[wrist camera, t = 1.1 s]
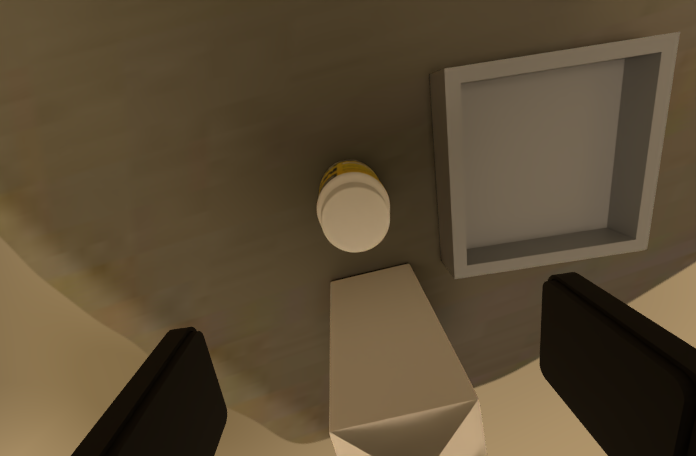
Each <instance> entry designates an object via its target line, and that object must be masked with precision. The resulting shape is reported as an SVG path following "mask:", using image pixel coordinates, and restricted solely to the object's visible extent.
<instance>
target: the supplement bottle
mask: <svg viewBox="0 0 696 456" xmlns="http://www.w3.org/2000/svg"><path fill="white" fill-rule="evenodd" d="M317 216H318V220H319V222H320V225H321V227H322V229H323V232H324V234H325V236H326V238H327V239H328V240H329V241H330V243H331V244H333V245H334V246H335V247H337V248H339V249H341V250H343V251H347V252H363V251H367V250H369V249H371V248H373V247H375V246H376V245H378V244H379V243H380V242H381V241H382V239H383V238H384V237H385V235H386V233H387V231H388V228H389V225H390V200H389V196H388V194H387V192H386V190H385V188H384V186H383V185H382V183H381V182H380V180H379V179H378V177H377V176H376V174H375V173H374V171H373V170H372V169H371V168H370V167H369V166H367V165H366V164H364V163H362V162H360V161H357V160H343V161H340V162H337V163H335V164H334V165H332V166H331V167H330V168H329V169H328V170H327V171H326V172H325V173H324V175H323V177H322V180H321V183H320V189H319V194H318V200H317Z"/></svg>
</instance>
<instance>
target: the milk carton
mask: <svg viewBox="0 0 696 456" xmlns="http://www.w3.org/2000/svg"><path fill="white" fill-rule="evenodd" d="M329 434H330V437H331V440H332V443H333V446H334V449H335V452H336V455H337V456H487V449H486V443H485V435H484V428H483V421H482V415H481V409H480V404H479V399H478V397H477V394H476V392H475V390H474V388H473V386H472V384H471V382H470V380H469V378H468V376H467V375H466V373H465V371H464V369H463V367H462V365H461V363H460V361H459V359H458V357H457V355H456V353H455V351H454V349H453V347H452V345H451V343H450V342H449V340H448V338H447V336H446V334H445V332H444V330H443V328H442V326H441V324H440V322H439V320H438V318H437V316H436V314H435V312H434V310H433V309H432V307H431V305H430V303H429V301H428V299H427V297H426V295H425V293H424V291H423V289H422V287H421V285H420V283H419V281H418V279H417V278H416V276H415V274H414V272H413V270H412V268H411V266H410V264H404V265H400V266H395V267H391V268H387V269H383V270H379V271H374V272H370V273H366V274H362V275H357V276H353V277H349V278H345V279H341V280H336V281H332V282H331V283H330V414H329Z"/></svg>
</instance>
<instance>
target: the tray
mask: <svg viewBox="0 0 696 456" xmlns="http://www.w3.org/2000/svg"><path fill="white" fill-rule="evenodd" d="M679 35H680V32H675V33H669V34H663V35H656V36H650V37H643V38H637V39H631V40H624V41H618V42H611V43H605V44H599V45H592V46H586V47H579V48H573V49H567V50H560V51H554V52H547V53H541V54H534V55H528V56H522V57H515V58H509V59H502V60H496V61H490V62H483V63H477V64H470V65H464V66H458V67H451V68H445V69H442V70H439V71H437V72H434V73H432V74H429V79H430V95H431V110H432V126H433V142H434V158H435V174H436V189H437V205H438V221H439V237H440V253H441V261H442V263H443V264H444V265H445V267H446V268H447V269H448V271H449V272H450V273H451V275H452V276H453V277H454V279H459V278H466V277H472V276H479V275H485V274H492V273H498V272H505V271H511V270H518V269H524V268H531V267H537V266H544V265H550V264H557V263H563V262H570V261H576V260H583V259H589V258H596V257H602V256H609V255H615V254H622V253H628V252H635V251H641V250H647V246H648V240H649V233H650V227H651V220H652V213H653V207H654V200H655V194H656V187H657V180H658V174H659V167H660V161H661V154H662V147H663V141H664V134H665V128H666V121H667V115H668V108H669V101H670V95H671V88H672V82H673V75H674V68H675V62H676V55H677V49H678V42H679Z"/></svg>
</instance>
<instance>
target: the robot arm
mask: <svg viewBox="0 0 696 456" xmlns="http://www.w3.org/2000/svg"><path fill="white" fill-rule="evenodd" d="M540 368H541V371H542V373H543V376H544V377H545V379H546V380H547V381H548V382H549V384H550V385H551V386H552V387H553V388H554V390H555V391H556V392H557V393H558V395H559V396H560V397H561V398H562V399H563V401H564V402H565V403H566V404H567V406H568V407H569V408H570V409H571V411H572V412H573V413H574V414H575V416H576V417H577V418H578V419H579V420H580V422H581V423H582V424H583V425H584V427H585V428H586V429H587V430H588V432H589V433H590V434H591V435H592V436H593V438H594V439H595V440H596V441H597V443H598V444H599V445H600V446H601V448H602V449H603V450H604V451H605V453H606V454H607V455H608V456H696V348H694V347H692V346H691V345H689V344H688V343H686V342H685V341H683V340H681V339H680V338H678V337H677V336H675V335H674V334H672V333H670V332H669V331H667V330H666V329H664V328H663V327H661V326H659V325H658V324H656V323H655V322H653V321H652V320H650V319H648V318H646V317H645V316H644V315H642V314H641V313H639V312H637V311H636V310H634V309H633V308H631V307H629V306H628V305H626V304H625V303H623V302H622V301H620V300H619V299H617V298H615V297H614V296H612V295H611V294H609V293H608V292H606V291H604V290H603V289H601V288H600V287H598V286H596V285H595V284H593V283H592V282H590V281H589V280H587V279H585V278H584V277H582V276H581V275H579V274H577V273H575V272H571V273H564V274H557V275H551V276H550V277H549V279H548V281H546V282H544V284H543V292H542V316H541V341H540ZM226 419H227V408H226V405H225V402H224V398H223V395H222V392H221V389H220V386H219V383H218V379H217V376H216V373H215V370H214V367H213V364H212V361H211V357H210V354H209V351H208V348H207V345H206V342H205V339H204V336H203V333H202V332H200V331H196V329H195V328H193V327H187V328H180V329H173V330H170V331H169V332H167V334H166V335H165V336H164V338H163V339H162V340H161V341H160V343H159V344H158V345H157V346H156V348H155V349H154V350H153V352H152V353H151V354H150V355H149V357H148V358H147V359H146V361H145V362H144V363H143V364H142V366H141V367H140V368H139V370H138V371H137V372H136V373H135V375H134V376H133V377H132V379H131V380H130V381H129V382H128V383H127V385H126V386H125V387H124V389H123V390H122V391H121V392H120V394H119V395H118V396H117V397H116V399H115V400H114V401H113V403H112V404H111V405H110V407H109V408H108V409H107V410H106V411H105V413H104V414H103V416H102V417H101V418H100V419H99V420H98V422H97V423H96V424H95V425H94V427H93V428H92V429H91V431H90V432H89V433H88V434H87V436H86V437H85V438H84V440H83V441H82V442H81V443H80V445H79V446H78V447H77V448H76V450H75V451H74V452H73V454H72V455H71V456H214V455H215V452H216V449H217V446H218V443H219V441H220V438H221V435H222V432H223V429H224V427H225V424H226Z"/></svg>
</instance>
